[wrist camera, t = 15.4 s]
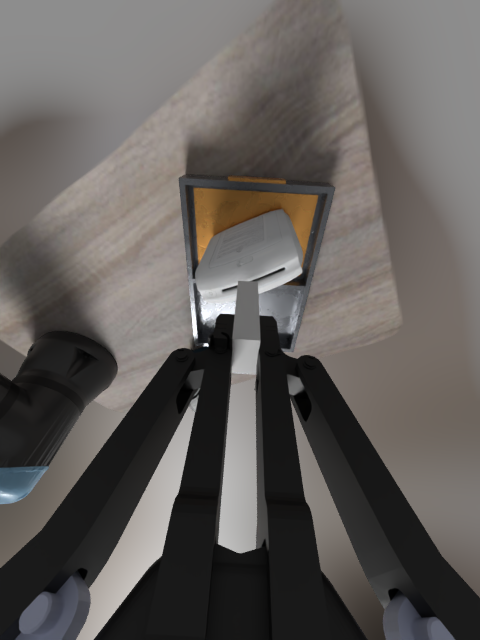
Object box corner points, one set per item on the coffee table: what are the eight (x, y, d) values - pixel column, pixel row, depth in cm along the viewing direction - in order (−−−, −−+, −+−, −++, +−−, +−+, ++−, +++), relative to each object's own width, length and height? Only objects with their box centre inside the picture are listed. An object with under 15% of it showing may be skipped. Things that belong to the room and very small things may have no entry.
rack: (198, 333, 41) (194, 345, 39) (185, 171, 27) (178, 174, 24) (291, 339, 41) (293, 352, 39) (329, 180, 27) (336, 184, 24)
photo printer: (220, 265, 32) (205, 320, 22) (206, 235, 30) (181, 282, 20) (295, 237, 29) (315, 286, 20) (285, 202, 27) (303, 237, 17)
